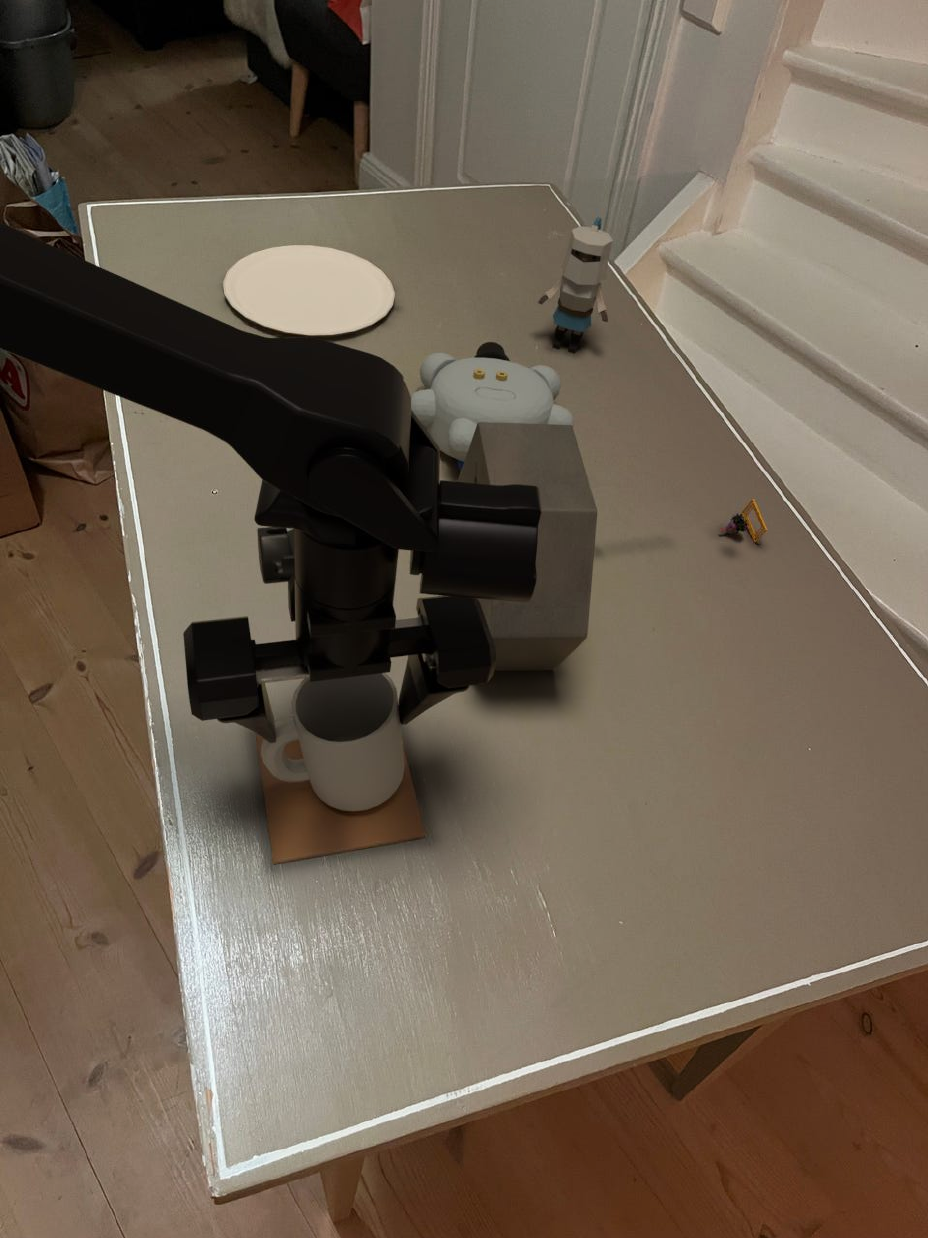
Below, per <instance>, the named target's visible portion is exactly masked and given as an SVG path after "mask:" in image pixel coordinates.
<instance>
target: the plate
mask: <svg viewBox="0 0 928 1238" xmlns="http://www.w3.org/2000/svg"><path fill="white" fill-rule="evenodd" d="M222 286H223V295H224V297H225V299H226V301H227V302H228V304H229V305H230V306H231V308H232V309H233V310H235V311H236V312H237V313H238V314H239V315H241V316H242V317H243V318H244V319H246V320H247V321H249V322H251V323H253V324H256V325H258V326H260V327H262V328H264V329H267V330H271V331H273V332H277V333H282V334H285V335H291V336H297V337H315V338H321V337H323V338H324V337H325V338H327V337H337V336H344V335H349V334H355V333H357V332H359V331H362V330H364V329H365V330H366V329H368V328H371V327H373V326H374V325H376V324H377V323H378V322H380V321H381V320H383V319H384V318H386V316H387V315H388V314H389V312H390V311H391V310H392V308H393V307H394V302H395V295H396V292H395V289H394V286H393V283H392V281H391V280H390V278H389V277H388V276H387V275H386V274H385V273H384V272H383V270H382V269H380V268H379V267H378V266H376V265H374V264H373V263H371V261H369V260H367V259H365V258H362V257H360V256H358V255H356V254H354V253H351V252H347V251H343V250H340V249H336V248H333V247H326V246H318V245H312V244H311V245H310V244H309V245H304V244H303V245H301V244H300V245H299V244H298V245H297V244H295V245H293V244H289V245H284V246H283V245H282V246H274V247H268V248H265V249H262V250H258V251H254V252H252V253H249V254H248V255H246V256H244V257H243V258H241V259H239V260H237V261H236V262H235V263H234V264H233V265H232V266H231V267H230V268H229V269H228V270H227V272H226V274H225V276H224V279H223V281H222Z"/></svg>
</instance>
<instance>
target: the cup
mask: <svg viewBox="0 0 928 1238" xmlns="http://www.w3.org/2000/svg"><path fill="white" fill-rule="evenodd" d="M291 713H292V717H288V718H284V719H282V720H280V721H277V722H274V724H275V731H276V743H269V742H268V741H267V740H265V739H263V742H262V745H261V757H262V760H263V763H264V764H265V766H266V767H267V768H268V770H269V771H270V772H271V773H272V775H273V776H275V777H276V778H278V779H279V780H282V781H287V782H302V781H307V780H309V781H310V783H311V785H312V788H313V790H314V792H315V793H316V794H317V796H318V797H319V798H320V800H322V801H323V802H325V803H326V804H328V805H329V806H331V807H334V808H337V809H339V810H345V811H361V810H367V809H370V808H373V807H375V806H378V805H380V804H381V803H383V802H384V801H386V800H387V799H389V798H390V797H391V796H392V795H393V794H394V792H395V791H396V790H397V789H398V787H399V785H400V783H401V781H402V779H403V774H404V766H405V763H404V753H403V747H404V743H403V735H402V725H401V723H400V715H399V697H398V689H397V687H396V685H395V682H394V681H393V679H392V678H391V676H389V674H387V673H380V674H372V675H364V676H356V677H348V678H340V679H332V680H324V681H316V682H310V678H303V679H302V680H301V682H300V683H299V685H298V686H297V688H296V689H295V691H294V694H293V698H292V700H291ZM295 740H299V742H300V746H301V750H302V754H303V758H304V759H300V760H291V759H288V758H287V757H286V756H285V752H284V747H285V745H286V744H288V743H290V742H291V741H295ZM402 743H403V744H402Z"/></svg>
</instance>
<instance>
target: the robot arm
mask: <svg viewBox="0 0 928 1238" xmlns="http://www.w3.org/2000/svg"><path fill="white" fill-rule="evenodd" d="M0 350H1V351H5V352H7V353H10V354H12V355H15V356H16V357H19V358H22V359H25V360H26V361H30V362H32V363H35V364H36V365H40V366H42V367H45V368H47V369H49V370H52V371H55V372H57V373H59V374H62V375H65V376H67V377H70V378H73V379H75V380H77V381H79V382H82V383H84V384H86V385H89V386H92V387H94V388H97V389H100V390H102V391H104V392H107V393H109V394H112V395H114V396H117V397H118V398H122V399H124V400H127V401H130V402H132V403H134V404H136V405H139V406H142V407H145V408H147V409H149V410H152V411H154V412H157V413H160V414H162V415H165V416H167V417H169V418H172V419H174V420H177V421H180V422H182V423H184V424H187V425H189V426H192V427H194V428H197V429H200V430H202V431H204V432H206V433H208V434H210V435H212V436H213V437H215V438H216V439H219V440H220V441H222V442H224V443H226V444H228V445H229V446H230V447H231V448H232V449H233V450H234V451H235V453H237V455H238V456H239V457H240V458H241V459H242V460H243V461H244V462H245V463H246V464H247V465H248V467H250V468H251V470H253V472H255V474H256V475H257V476H258V477H259V478H260V479H262V480H261V484H260V489H259V490H260V491H259V493H258V494H259V495H258V499H257V504H256V508H255V513H254V522H255V524H256V525H258V526H259V527H258V528H257V530H256V531H257V549H258V561H259V562H258V563H259V569H260V574H261V578H262V583H263V584H265V585H268V584H269V585H270V584H278V583H287V601H288V603H287V604H288V605H287V606H288V613H289V618H290V622H293V623H295V624H294V625H295V626H294V627H295V639H290V640H289V639H288V640H281V641H272V642H271V641H270V642H262V643H261V642H260V643H257V642H256V639H252V635H251V628H250V621H249V617H248V616H247V615H246V616H235V617H227V618H218V619H217V618H215V619H207V620H198V621H191V622H190V624H189V625H188V626H187V627H186V629H185V630H184V631H183V634H182V637H183V647H184V660H185V671H186V673H185V674H186V685H187V693H188V694H187V695H188V701H189V708H190V711H191V712H190V713H191V715H192V716H193V717H195V718H196V719H198V720H199V721H201V722H204V721H205V722H206V721H212V720H213V721H214V720H216V721H218V722H219V723H221V724H237V725H238V726H241V727H243V728H245V729H248V730H250V731H252V732H254V733H255V734H256V733H257V734H258V735H260V736H261V737H262V738H264V739H265V740H267V741H268V742H269V743H276V731H275V717H274V713H273V709H272V705H271V701H270V698H269V694H268V690H267V686H266V684H267V683H268V684H269V683H275V682H276V683H277V682H283V681H284V682H285V681H292V680H301V679H302V680H303V679H305V678H310V682H316V681H324V680H332V679H340V678H348V677H356V676H364V675H372V674H380V673H386V674H387V673H391V669H392V667H391V666H392V659H393V658H399V657H407V660H406V664H405V670H404V674H403V678H402V682H401V687H400V691H399V697H398V706H399V715H400V725H401V726H403V725H404V726H405V725H407V724H409V723H411V722H412V721H413V720H415V719H416V718H418V717H419V716H421V715H422V714H423V713H425V712H427V711H428V710H429V709H431V708H432V707H434V706H436V705H437V704H439V703H441V702H442V701H445V700H446V699H448V698H450V697H451V696H453V695H455V694H458V693H464V692H466V691H467V690H469V688H470V686H477V685H478V686H479V685H485V684H488V682H489V681H490V680H491V679H492V677H493V676H494V672H495V671H494V669H495V664H496V660H497V659H496V647H495V644H494V641H493V639H492V636H491V633H490V630H489V627H488V624H487V621H486V619H485V616H484V613H483V610H482V607H481V604H480V601H478V600H477V599H476V598H480V599H493V600H505V601H518V602H529V601H530V599H531V597H532V595H533V592H534V589H535V585H536V580H537V573H536V555H537V543H538V524H539V521H540V517H541V502H540V491H539V488H538V487H537V486H530V485H520V484H512V485H488V484H477V483H466V482H458V481H455V480H454V481H453V480H445V479H440V474H441V473H440V471H441V470H440V468H441V467H440V466H441V465H440V464H441V450H440V448H439V446H438V445H437V444H436V442H435V441H434V439H433V438H432V437H431V435H430V434H429V433H428V431H427V428H426V426H425V425H422V423H421V422H420V421H419V419H418V418H417V417H416V415H415V414H414V413H413V411H412V410H411V396H412V395H411V394H410V391H409V389H408V386H407V383H406V381H405V380H404V375H403V374H402V373H401V372H400V371H399V369H398V368H397V367H396V366H395V365H393V364H391V363H390V362H389V361H387V360H386V359H384V358H383V357H381V356H378V355H376V354H372V353H370V352H366V351H363V350H359V349H355V348H353V347H349V346H346V345H343V344H339V343H335V342H332V341H328V340H325V339H321V338H320V337H306V336H291V337H288V336H287V337H268V336H267V337H266V336H262V335H259V334H255V333H253V332H249V331H246V330H241V329H239V328H237V327H234V326H232V325H230V324H228V323H225V322H223V321H222V320H219V319H217V318H215V317H212V316H210V315H208V314H205V313H203V312H201V311H199V310H197V309H194V308H192V307H190V306H188V305H186V304H183V303H181V302H179V301H177V300H174V299H172V298H171V297H168V296H166V295H163V294H162V293H159V292H157V291H154V290H152V289H150V288H148V287H146V286H144V285H141V284H139V283H137V282H134V281H132V280H130V279H127V278H125V277H123V276H121V275H119V274H117V273H114V272H112V271H110V270H108V269H105V268H103V267H101V266H99V265H97V264H95V263H92V262H90V261H87V260H85V259H83V258H81V257H78V256H77V255H74V254H72V253H70V252H67V251H65V250H63V249H61V248H59V247H56V246H54V245H52V244H49V243H47V242H45V241H43V240H41V239H38V238H36V237H33V236H32V235H30V234H27V233H25V232H22V231H21V230H18V229H16V228H13V227H11V226H9V225H7V224H5V223H3V222H0ZM288 529H290V530H288ZM400 551H410V554H409V555H410V557H409V575H410V576H411V575H412V576H420V582H419V594H422V595H430V596H428V597H418V598H417V599H416V607H415V609H416V613H417V617H413V618H403V619H397V615H396V611H395V607H394V599H395V589H396V580H397V571H398V562H399V554H400V553H399V552H400ZM431 595H432V596H431ZM391 658H392V659H391Z"/></svg>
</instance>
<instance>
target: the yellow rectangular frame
mask: <svg viewBox="0 0 928 1238" xmlns="http://www.w3.org/2000/svg"><path fill="white" fill-rule="evenodd" d="M752 511H754V513H755V516H756V518H757V521H758V523H759V525H760V527H759V528H758V530H757V531H756V532H755V529H754V527H753V525H752V523H751V520H750V518H749V514H750V513H751V512H752ZM747 529H748V531H749V533H750V535H751V538H752V541H753V543H757V542H759V540H760V539H761V538H762V537H763V535H764V534H765V533H766V532H768V528H767V526H766V523H765V521H764V519H763V517H762V514H761V512H760V510H759V507H758V505H757V503H756V500H755V498H751V500H750V501H749V502H748V504H747V505H746V506H745V507H744V508H743V510H742V511H741V513H739V512H737V513H736V514H732V517H731V518H730V521H729V522H728V523H727V525H726V526H725V527H721V528H719V530H720V531H721V532H725V531H726V532H727V533H728V534H729V535H730V534H731V535H732V534H734V533H737V534H738V533H739V532H746V531H747Z"/></svg>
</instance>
